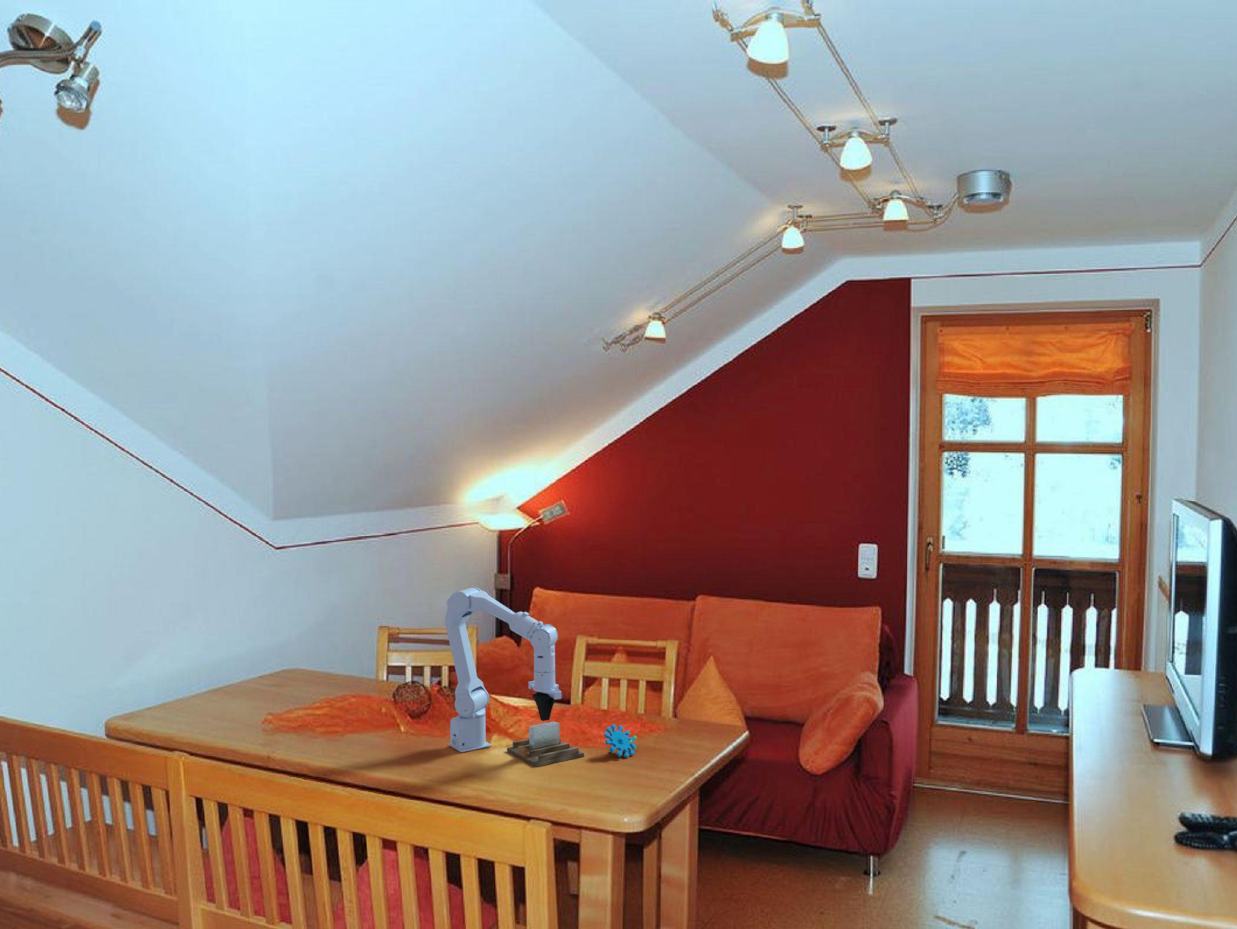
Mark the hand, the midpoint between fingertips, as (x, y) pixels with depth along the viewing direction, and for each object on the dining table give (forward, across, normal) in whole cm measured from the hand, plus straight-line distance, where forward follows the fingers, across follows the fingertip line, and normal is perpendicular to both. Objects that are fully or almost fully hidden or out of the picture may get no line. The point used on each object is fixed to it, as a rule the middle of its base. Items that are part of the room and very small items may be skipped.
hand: (545, 719), depth 283 cm
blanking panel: (+8, 0, 0) cm, 8 cm away
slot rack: (+9, 0, 0) cm, 9 cm away
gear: (+10, -12, -17) cm, 23 cm away
